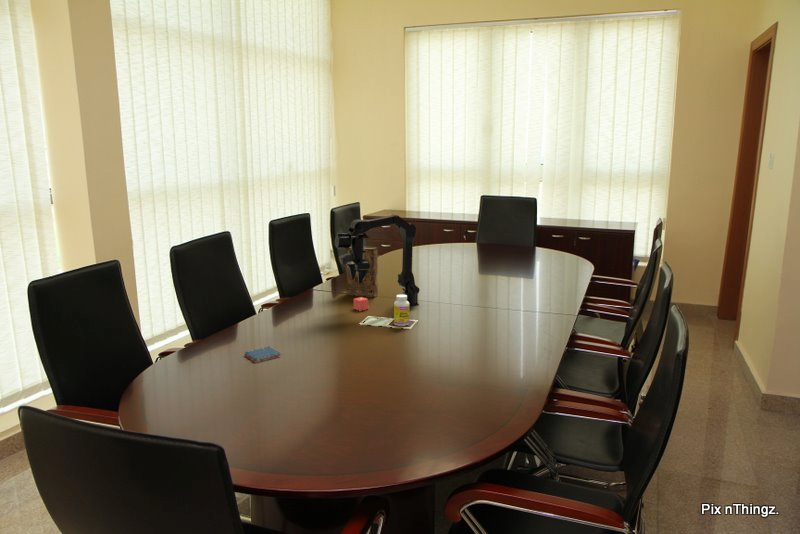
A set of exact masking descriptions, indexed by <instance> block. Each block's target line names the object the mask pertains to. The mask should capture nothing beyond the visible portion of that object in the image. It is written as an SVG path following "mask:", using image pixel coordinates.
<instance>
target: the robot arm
mask: <svg viewBox="0 0 800 534" xmlns="http://www.w3.org/2000/svg"><path fill="white" fill-rule="evenodd" d="M389 225H391V226H392V225H395V227H396V228H398V229H399V233H400V237H401V240H402V270H401V272H400V274H399V273H398V274H397V283H398V285H399V286H400V288H401V290H402V292H403V295H407V301H408V302H409V307H410V306H412V305H413V306H420V303H419V297H418V294H420V291H421V289H420V288H419V287H418V286H417V285H416V281H415V276H414V273H413V248H414V247H413V243H414V240H415V239H416V236H417V235H416V234H417V226H416V225H414V224H413V223H411V222H407V221H406V220H404V218H402V217H400V215H397V214H391V215H387V216H382V217H376V218H371V219H354V220H352V221H351V223H350V226H349V227H348V229H347V230H346V231H345V233H343V232H342V233H340V232H337V233H336V236H335V238H334V246H335V248H336V249H345V248H349V247H350V246H351V249H350V250H349V253H346V254H345V253H344V254H341V255H339V256H338V260H339V263H340V264H342V265H345V264H346V265H347V266H348V267H349V270H350V274H351V278H352V279H354V278H355V275H356V272H358V282H359V283H361V282H362V280H363V278H364V276H365V275H366V273H367V271H368V270H369V269H370V264H369V263H368V262H365V259H363V255H364V253H365V250H364V246H365V239H369V235H367V233H366V232H369V231H371V230H373V229H375V228H376V229H377V228H381V227H385V226H389Z"/></svg>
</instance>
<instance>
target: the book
mask: <svg viewBox="0 0 800 534" xmlns="http://www.w3.org/2000/svg"><path fill="white" fill-rule="evenodd" d="M350 249H351V246H350V247H349V248H344V254H346V253H349V250H350ZM364 250H365V253H364V255H363V259H365V262H368V263H369V264H370V269H369V270H368V271H367V273H366V275H365V276H364V278H363V280H362V282H361V283H359V282H358V272H356V275H355V278H354V279H352V278H351V274H350V270H349V267H348V266H347V265H346V264H344V265H345V267H344V268H345V294H346V295H347V296H353V295H355V296H356V297H363V296H366V297H365V298H372V297H374V298H377V297H378V296H379V280H378V279H379V278H378V275H379V274H378V273H379V272H378V271H379V270H378V269H379V268H378V267H379V266H378V265H379V264H378V263H379V262H378V261H379V260H378V247H376V246H365V245H364ZM355 296H354V297H355ZM376 296H377V297H376Z"/></svg>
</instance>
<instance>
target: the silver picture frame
mask: <svg viewBox="0 0 800 534" xmlns="http://www.w3.org/2000/svg"><path fill="white" fill-rule="evenodd" d="M377 318H378V319H377ZM393 320H394V317H393V318H392V317H381V316H369V315H368V316H366V317H365V318H364V319H363V320H361V321H360V322H359V323H358V325H359V324H360V325H359V326H367V325H371V326H370V327H378V326H382V327H381V328H390V327H392V328H393V329H401V328H403V330H412V329H413V328H414V327H415V326H416V325H417V324H418V322H419V320H417V319H416V320H415V319H409V322H411V321H412V322H411V323H412V324H411V325H410V327H407V326H397V325H395V326H394V325H391V324H392V323H393V322H394V321H393ZM364 321H365V322H364ZM392 321H393V322H392ZM363 322H364V323H363ZM391 322H392V323H391ZM390 323H391V324H390ZM389 324H390V325H389Z"/></svg>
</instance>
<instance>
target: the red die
mask: <svg viewBox="0 0 800 534" xmlns="http://www.w3.org/2000/svg"><path fill="white" fill-rule="evenodd" d="M369 308H370V307H369V298H368V297H363V296H359V297H356V298H353V310H355V309H356V310H355V311H358V310H359V311H358V312H363V311H367V310H366V309H368V310H369ZM362 310H363V311H362Z"/></svg>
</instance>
